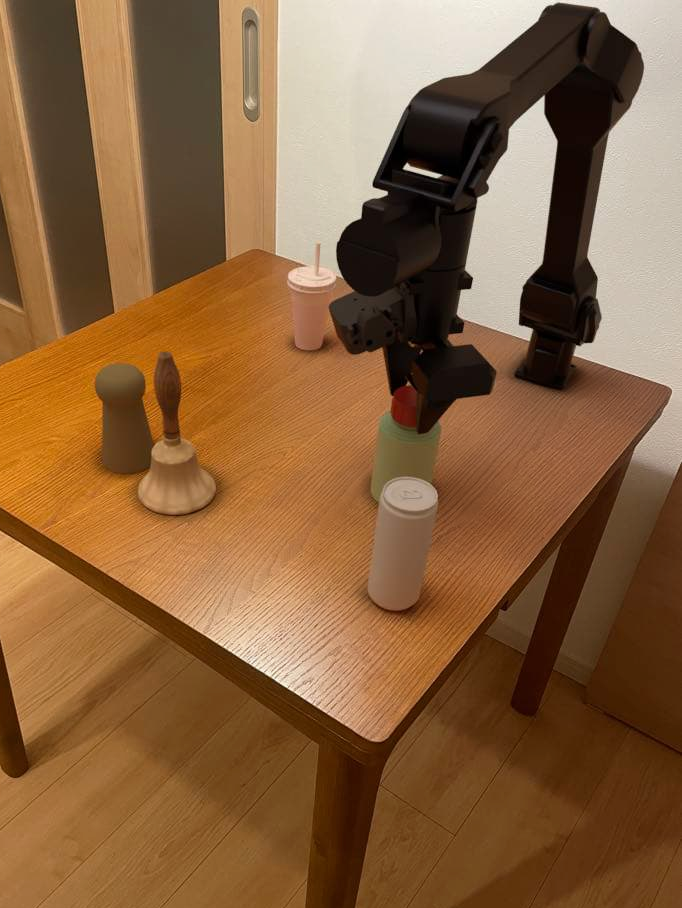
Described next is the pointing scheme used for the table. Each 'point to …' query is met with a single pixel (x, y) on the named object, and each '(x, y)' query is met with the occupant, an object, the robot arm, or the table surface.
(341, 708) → the table surface
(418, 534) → the beverage can
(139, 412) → the cork
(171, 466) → the hand bell
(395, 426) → the sauce bottle
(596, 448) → the table surface
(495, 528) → the table surface
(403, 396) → the bottle cap
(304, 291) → the smoothie
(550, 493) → the table surface
